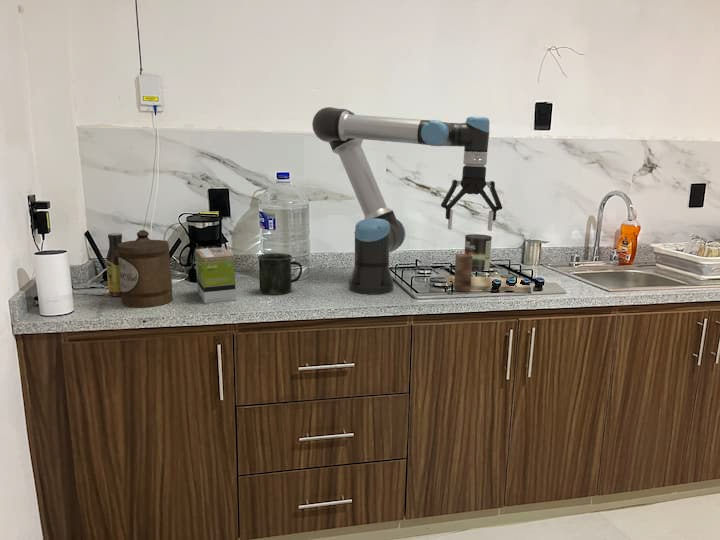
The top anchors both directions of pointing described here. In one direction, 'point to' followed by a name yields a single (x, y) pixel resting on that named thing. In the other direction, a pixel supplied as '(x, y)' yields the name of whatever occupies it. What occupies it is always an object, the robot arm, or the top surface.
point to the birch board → (486, 284)
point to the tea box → (215, 274)
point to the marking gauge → (463, 272)
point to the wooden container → (145, 272)
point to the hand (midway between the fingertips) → (469, 229)
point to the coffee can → (478, 251)
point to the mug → (276, 273)
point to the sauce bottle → (113, 264)
